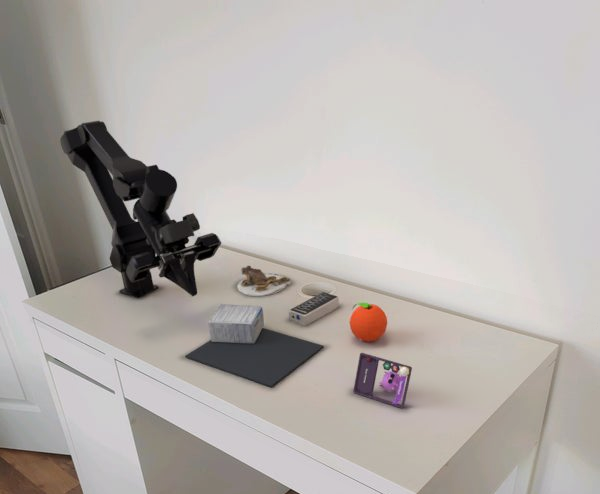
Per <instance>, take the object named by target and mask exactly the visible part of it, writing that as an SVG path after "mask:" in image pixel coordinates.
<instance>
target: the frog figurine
mask: <svg viewBox="0 0 600 494" xmlns="http://www.w3.org/2000/svg"><path fill="white" fill-rule="evenodd" d="M240 269H241V271H240V272H241V275H245V276H246V277H245V278H244V279H242V280H241V281H239V282H238V284H237V290H238V291H239V292H241V293H242V294H244V295H245V296H247V297H248V296H249V297H265V296H271V295H274V294H277V293H279V292H282V291H283V290H284V289H286V287H287V286H290V285H292V283H291V279H290V277H288V276H285V275H279V274H277V273H264V272H263V271H262V270H261V269H259V268H253V267H252V266H251V265H247V266H246V267H241V268H240Z"/></svg>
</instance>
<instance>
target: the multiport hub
mask: <svg viewBox="0 0 600 494" xmlns="http://www.w3.org/2000/svg"><path fill="white" fill-rule="evenodd" d="M339 300H340V299H339V296H338V295H335V294H333V293H329V292H326V291H322V292H320V293H318V294H316V295H314V296H312V297H310V298H309V299H306V300H305V301H303V302H301V303H299V304H297V305H295V306H294V307H292V308H290V309H289V310H288V312H289V321H290V322H291V323H295V324H298V325H301V326H304V327H305V326H308V325H310V324H312V323H314V322H315V321H318V320H319V319H321V318H322V317H325V316H326V315H327V314H330V313H331V312H333V311H335V310H336V309H338V308H339V307H340V301H339Z"/></svg>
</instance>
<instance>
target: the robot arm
mask: <svg viewBox="0 0 600 494" xmlns="http://www.w3.org/2000/svg"><path fill="white" fill-rule="evenodd" d="M59 142H60V145H61V146H60V147H61V150H62V151H63V153H64V154H65V155H66V156H67V157H68V159H69V161H70V162H71V164H72V165H73V166H75V167H76V168H78V169H79V170H80V171H82V172H83V173H84V174H85V176H86V178H87V180H88V183H89V184H90V186H91V188H92V190H93V192H94V194H95V196H96V199H97V201H98V203H99V204H100V205H99V206H100V207H101V209H102V211H103V214H104V215H105V217H106V219H107V221H108V223H109V225H110V227H111V229H112V235H111V242H110V243H111V246H112V248H111V252H110V254H109V261H110V265H111V267H112V268H113V269H114V270H116V271H117V272H119V273H120V275H121V279H122V283H123V288H121V289H119V294H123V295H126V296H129V297H132V298H136V299H139V298H141V297H144V296H146V295H149V294H150V293H152V292H154V291H156V290H158V289H159V285H156V284H154V280H153V276H152V272H151V270H152V269H156V268H157V269H158V270H159V273H158V277H159V279H160V278H161V279H162V278H165V279H167V280H169V281H170V282H172V283H174V285H177V286H178V287H180V288H181V289H182V290H183V291H185V292H186V293H187V294H189V295H190V296H191V297H194V296H197V295H198V287H197V281H196V274H195V262H196V261H199V262H201V261H205V260H208V259H211V258H212V257H214V256H215V255H216V253H217V252H218V250H219V248H220V246H221V245H222V241H221V239H220V237H219V235H217V234H216V233H213V232H210V233H207V234H204V235H200V236H198V237H197V238H196V240H195V242H194V243H193V244H192V245H189V246H186V245H188V244H189V243H190V239H189V238H191V237H195V236H196V235H195V232H197V231H199V230H201V229H200V228H201V225H200V221H199V220H198V218H197V216H196V214H195V213H194V212H192V213H189V214H185V215H184V216H182V220H179V221H177V220H175V219H171V217H170V216H169V214H168V212H167V211H168V210H169V208H170V207H171V205H172V202H173V200H174V198H175V197H174V196H175V195H176V192H177V189H178V182H177V179H176V178H175V176H173V175H172V174H171V173H169V172H168V171H166V170H163V169H160V168H159V166H158V165H157V164H152V165H147V164H145V163H144V162H143V161H142V160H139V159H137V158H136V159H135V158H133V157H130V156H129V155H128V153H127V152H126V151H125V150H124V148H122V146H121V145H120V143H118V141H116V139H115V138H114V137H113V135H112V134H111V133H110V132H109V130H108V128H107V126H106V123H105V122H104V121H100V120H92V121H86V122H81V124H78V125H77V126H76V127H75V128H72V129H66V130H64V131H63V134H62V135H61V136H60V140H59ZM135 200H136V201H135ZM129 201H135V202H134V205H133V208H132V215H131V214H130V212H129V210H128V208H127V206H126V204H125V202H129ZM136 220H137V221H136Z"/></svg>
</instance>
